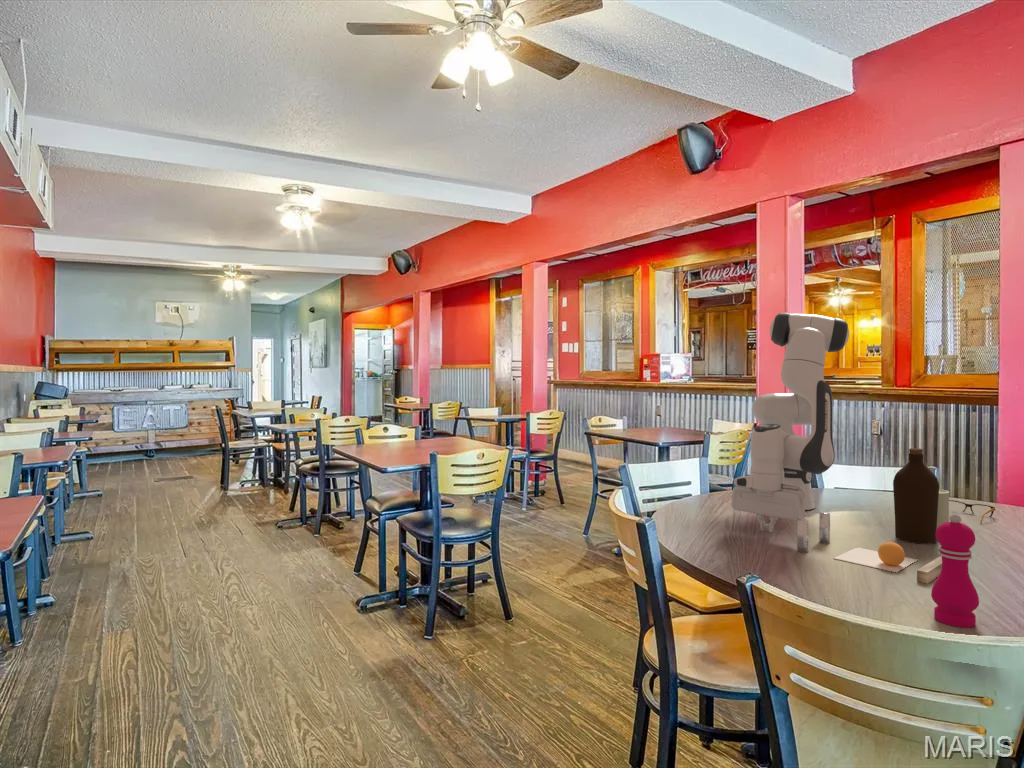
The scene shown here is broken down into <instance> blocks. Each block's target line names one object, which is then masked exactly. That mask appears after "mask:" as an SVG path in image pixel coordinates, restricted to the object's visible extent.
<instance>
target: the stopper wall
mask: <svg viewBox="0 0 1024 768" xmlns="http://www.w3.org/2000/svg"><path fill="white" fill-rule="evenodd" d="M941 569H942V556H941V555H940V556H939V557H936V558H934V559H933V560H932V561H930V562H928V563H926V564H925V565H923V566H921V567H920V568H918V569H917V570H916V582H919V583H923V584H929V583H931V582H932V581H934V580H936V579H937V578H938V576H939V575H940V572H941ZM936 577H937V578H936Z"/></svg>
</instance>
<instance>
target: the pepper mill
mask: <svg viewBox="0 0 1024 768" xmlns="http://www.w3.org/2000/svg"><path fill="white" fill-rule="evenodd" d="M936 542H938V543H939V544H940V546H938V550H939V551H938V555H940V556H942V569H941V572H940V575H939V576H938V577H937V578H936V579H935V581H934V583H933V585H932V588H931V593H930V594H931V596H930V597H931V599H932V600H933V601H934V603H935V604H936V606H935V607H934V608H933V609H934V610H933V611H934V612H933V613H934V614H933V615H934V617H933V618H934V619H935V620H936V621H938V622H940V623H941V624H943V625H944V624H945V625H948V626H952V627H957V628H972V627H975V626H976V620H977V619H976V618H977V617H976V614H975V613H974V611H975V610H976V609H978V607H979V606H980V598H979V594H978V591H977V589H976V586H975V585H974V583H973V582H972V579H971V577H970V572H969V561H970V560H971V559H972V558H973V556H972V553H973V551H972V550H971V548H972V547H973V546H974V545H975V543H976V535H975V532H974V530H973V529H972V528H971V527H970V526H968V525H967V524H964V523H962V517H961V516H960V515H959V514H957V513H953V514H951V515H949V522H945V523H943V524H941V525H939V526H938V528H937V530H936Z"/></svg>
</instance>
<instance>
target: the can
mask: <svg viewBox="0 0 1024 768" xmlns="http://www.w3.org/2000/svg"><path fill="white" fill-rule="evenodd" d="M949 500H950V491H949V490H945V489H943V488H939V498H938V513H937V528H938V526H939V525H941V524H943V523H945V522H950V519H949V518H950V513H949V512H950V501H949Z"/></svg>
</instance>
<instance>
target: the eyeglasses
mask: <svg viewBox="0 0 1024 768" xmlns="http://www.w3.org/2000/svg"><path fill="white" fill-rule="evenodd" d="M949 502H956V503H960V504H963V505H965V507H964V510H963V511H962V512H964V513H965V512H966V510H967V509H968V508H969V509H970V511H971V513H972V514H973V515H975V512H974V511H973V506H982V507H989V508H990V509H989V510H987V511H986V512H984V513H983V515H982V516H981V520H980V522H979V525H982V524H983V519H984V517H985V515H986V514H989V513H991V514H990V516H988V518H992V516H993V514H994V511H996V506H995V507H994V506H992V505H987V504H980V503H975V504H974V503H973V504H970V503H965V502H962V501H957V500H951V499H949Z"/></svg>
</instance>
